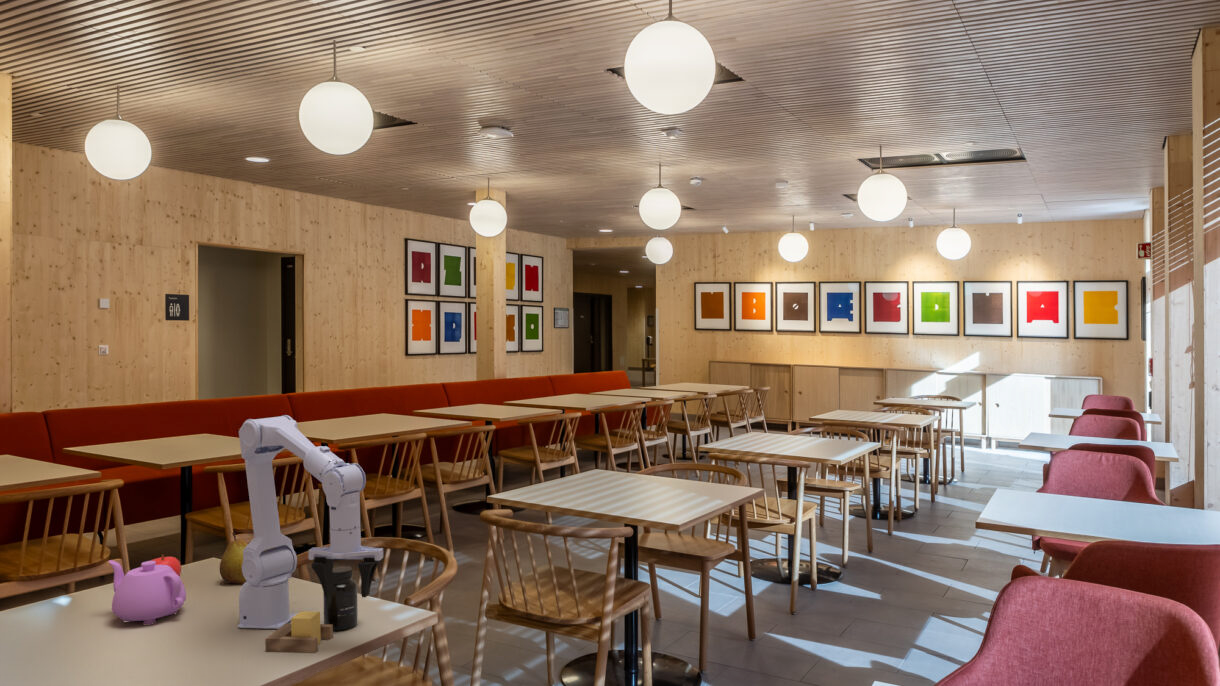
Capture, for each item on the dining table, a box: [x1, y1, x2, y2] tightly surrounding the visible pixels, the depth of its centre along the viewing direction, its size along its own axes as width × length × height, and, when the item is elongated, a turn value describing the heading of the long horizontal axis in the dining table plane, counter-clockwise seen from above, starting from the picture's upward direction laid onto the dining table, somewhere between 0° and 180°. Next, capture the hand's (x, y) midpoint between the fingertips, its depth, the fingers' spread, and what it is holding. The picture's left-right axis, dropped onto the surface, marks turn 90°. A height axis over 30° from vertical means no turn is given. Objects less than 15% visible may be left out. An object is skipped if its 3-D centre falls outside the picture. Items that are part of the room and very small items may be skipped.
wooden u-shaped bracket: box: [264, 623, 334, 654], centre depth 161 cm, size 10×8×2 cm
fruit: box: [219, 532, 249, 585], centre depth 202 cm, size 9×9×12 cm
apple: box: [150, 554, 182, 578], centre depth 199 cm, size 8×8×8 cm
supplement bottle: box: [323, 565, 359, 632], centre depth 170 cm, size 7×7×12 cm
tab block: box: [290, 610, 322, 644], centre depth 160 cm, size 4×4×6 cm
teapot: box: [108, 559, 187, 625], centre depth 178 cm, size 20×14×12 cm
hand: (347, 595), depth 160 cm, fingers open, 7 cm apart
